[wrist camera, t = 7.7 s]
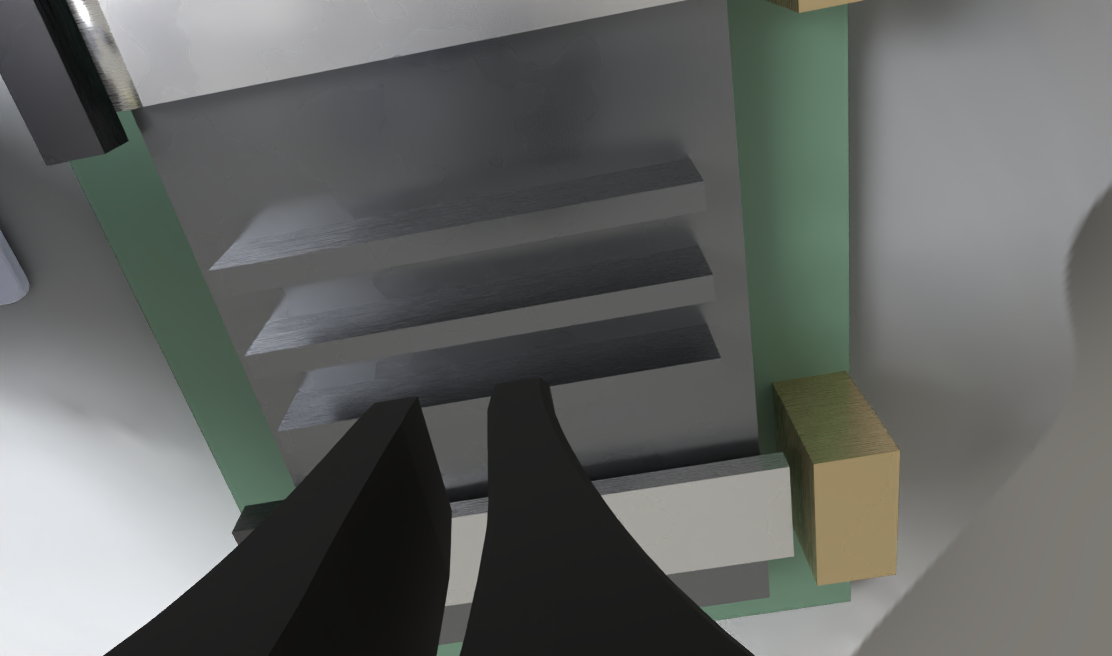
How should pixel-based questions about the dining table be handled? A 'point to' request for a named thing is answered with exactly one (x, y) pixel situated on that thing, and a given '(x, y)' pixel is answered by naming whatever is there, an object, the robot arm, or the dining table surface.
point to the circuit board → (769, 238)
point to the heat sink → (493, 257)
